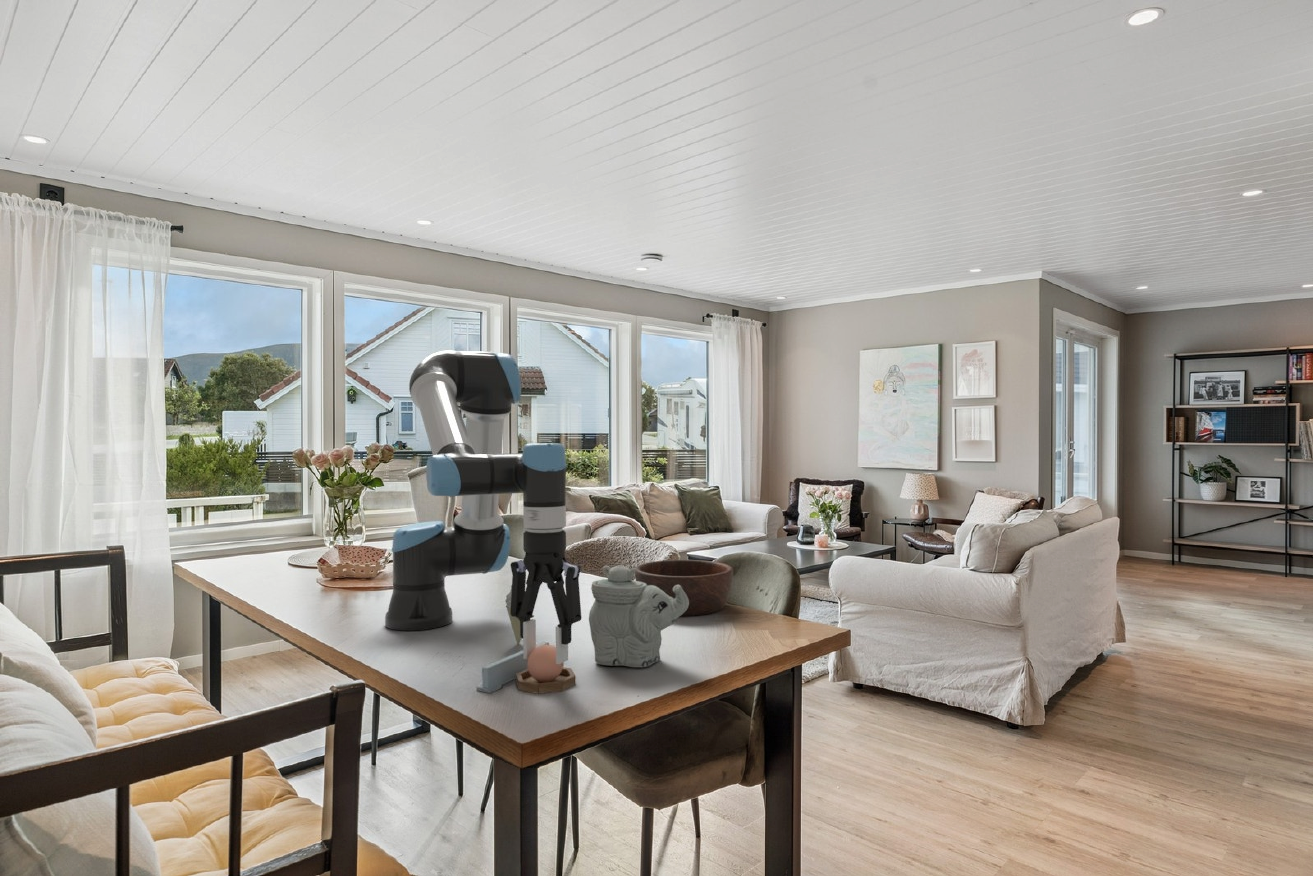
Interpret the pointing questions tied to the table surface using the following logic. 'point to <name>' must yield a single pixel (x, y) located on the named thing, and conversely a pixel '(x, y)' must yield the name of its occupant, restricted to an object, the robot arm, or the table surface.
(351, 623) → the table surface
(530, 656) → the ball
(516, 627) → the ice cream cone
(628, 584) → the teapot
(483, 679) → the low wall
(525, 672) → the cork ring
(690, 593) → the wooden bowl
